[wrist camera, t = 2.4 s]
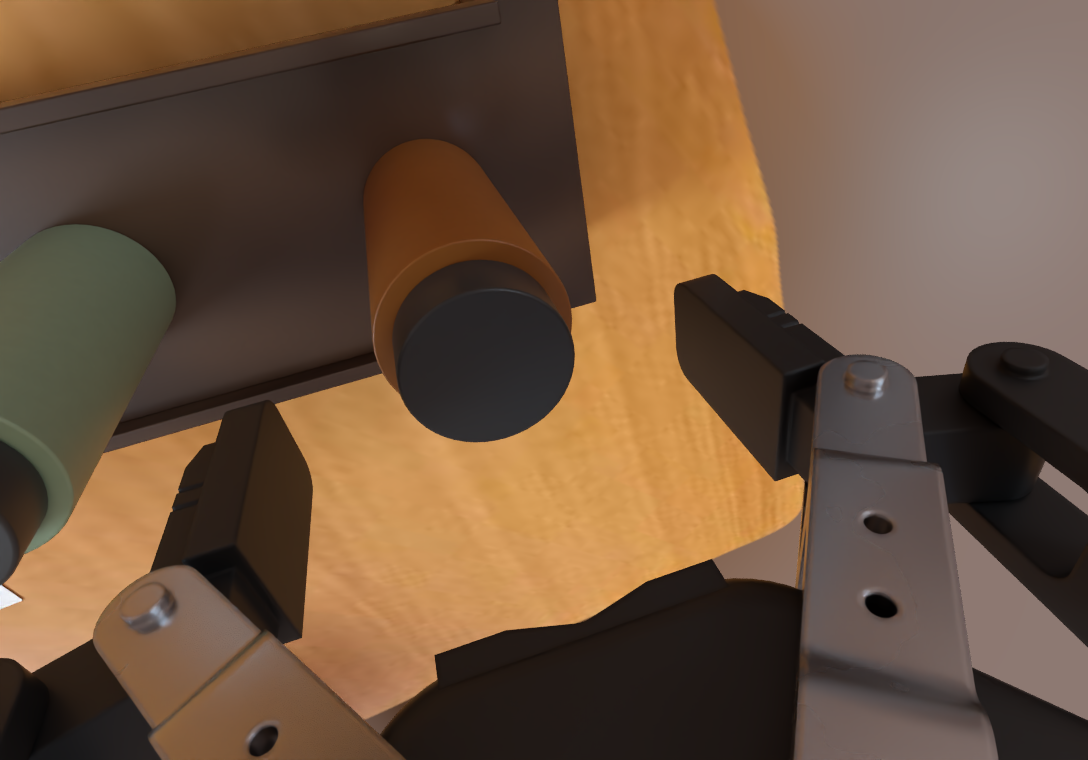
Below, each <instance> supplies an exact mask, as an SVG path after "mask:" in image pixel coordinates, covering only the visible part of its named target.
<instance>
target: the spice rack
mask: <svg viewBox="0 0 1088 760" xmlns="http://www.w3.org/2000/svg"><path fill="white" fill-rule="evenodd" d="M417 139H435V140H441V141H445V142H448V143H450V144H453V145H455V146H457V147H459V148H461V149H462V150H464V151H465V152H466V153H468V154H469V155H470V156H471V157H472V158H473V159H474V160H475V161H476V162H477V163H478V164H479V166H480V167H481V168H482V170H483V171H484V172H485V174H486V175H487V177H488V178H489V180H490V181H491V182H492V184H493V185H494V187H495V188H496V189H497V191H498V192H499V194H500V195H501V196H502V198H503V199H504V201H505V202H506V203H507V205H508V206H509V208H510V209H511V211H512V212H513V213H514V215H515V216H516V218H517V219H518V220H519V222H520V223H521V225H522V226H523V227H524V229H525V230H526V232H527V233H528V234H529V236H530V237H531V239H532V240H533V242H534V243H535V244H536V246H537V247H538V249H539V250H540V251H541V253H542V254H543V256H544V257H545V258H546V260H547V261H548V263H549V264H550V265H551V267H552V268H553V270H554V271H555V273H556V274H557V275H558V277H559V279H560V280H561V282H562V284H563V285H564V287H565V290H566V292H567V295H568V298H569V302H570V306H571V308H575V307H578V306H582V305H585V304H589V303H592V302H596V294H595V286H594V278H593V270H592V263H591V255H590V247H589V239H588V232H587V224H586V216H585V208H584V201H583V193H582V185H581V177H580V170H579V162H578V154H577V146H576V139H575V131H574V123H573V115H572V108H571V100H570V92H569V85H568V77H567V69H566V61H565V54H564V46H563V38H562V30H561V23H560V15H559V7H558V0H460V4H456V5H451V6H446V7H442V8H437V9H432V10H428V11H423V12H418V13H414V14H409V15H404V16H400V17H395V18H390V19H386V20H381V21H377V22H372V23H367V24H363V25H358V26H353V27H349V28H344V29H339V30H335V31H330V32H325V33H321V34H316V35H311V36H307V37H302V38H297V39H293V40H288V41H283V42H279V43H274V44H269V45H265V46H260V47H256V48H251V49H246V50H242V51H237V52H232V53H228V54H223V55H218V56H214V57H209V58H204V59H200V60H195V61H190V62H186V63H181V64H176V65H172V66H167V67H162V68H158V69H153V70H148V71H144V72H139V73H134V74H130V75H125V76H121V77H116V78H111V79H107V80H102V81H97V82H93V83H88V84H83V85H79V86H74V87H69V88H65V89H60V90H55V91H51V92H46V93H41V94H37V95H32V96H27V97H23V98H18V99H13V100H9V101H4V102H0V262H1V261H2V260H3V259H4V258H6V257H7V256H8V255H9V254H11V253H12V252H13V251H14V250H16V249H17V248H18V247H19V246H21V245H22V244H23V243H24V242H25V241H27V240H28V239H29V238H31V237H32V236H34V235H35V234H37V233H39V232H41V231H43V230H45V229H49V228H52V227H55V226H61V225H72V224H79V225H91V226H97V227H101V228H105V229H109V230H112V231H115V232H117V233H120V234H122V235H124V236H126V237H128V238H130V239H132V240H134V241H135V242H137V243H139V244H140V245H142V246H143V247H144V248H146V249H147V250H148V251H149V252H150V253H151V254H153V255H154V256H155V257H156V258H157V260H158V261H159V262H160V263H161V264H162V265H163V267H164V268H165V270H166V271H167V273H168V275H169V277H170V279H171V281H172V283H173V286H174V289H175V295H176V308H175V313H174V316H173V319H172V321H171V323H170V325H169V327H168V329H167V331H166V333H165V334H164V336H163V338H162V340H161V342H160V344H159V346H158V348H157V350H156V352H155V354H154V356H153V358H152V360H151V361H150V363H149V365H148V367H147V369H146V371H145V373H144V375H143V377H142V379H141V381H140V383H139V385H138V387H137V388H136V390H135V392H134V394H133V396H132V398H131V400H130V402H129V404H128V406H127V408H126V410H125V412H124V413H123V415H122V417H121V419H120V421H119V423H118V425H117V427H116V429H115V431H114V433H113V435H112V437H111V439H110V440H109V442H108V444H107V446H106V448H105V450H104V452H103V453H106V452H109V451H113V450H116V449H120V448H123V447H127V446H130V445H134V444H137V443H141V442H144V441H148V440H151V439H155V438H158V437H162V436H165V435H169V434H172V433H176V432H179V431H183V430H186V429H190V428H193V427H196V426H200V425H203V424H207V423H210V422H214V421H217V420H221V419H223V416H224V414H225V412H226V411H229V410H232V409H236V408H239V407H243V406H246V405H250V404H254V403H257V402H261V401H264V400H270V401H272V402H273V403H274V404H277V403H280V402H284V401H287V400H291V399H294V398H298V397H301V396H304V395H308V394H311V393H315V392H318V391H322V390H325V389H329V388H332V387H336V386H339V385H343V384H346V383H350V382H353V381H357V380H360V379H364V378H367V377H371V376H374V375H378V374H381V373H382V371H381V369H380V367H379V365H378V363H377V360H376V356H375V353H374V348H373V341H372V328H371V313H370V298H369V283H368V268H367V253H366V238H365V223H364V208H363V195H364V188H365V185H366V181H367V178H368V176H369V174H370V172H371V170H372V169H373V167H374V165H375V164H376V163H377V162H378V160H379V159H380V158H381V157H382V156H383V155H384V154H386V153H387V152H388V151H389V150H391V149H392V148H394V147H396V146H398V145H400V144H402V143H405V142H408V141H412V140H417Z"/></svg>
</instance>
